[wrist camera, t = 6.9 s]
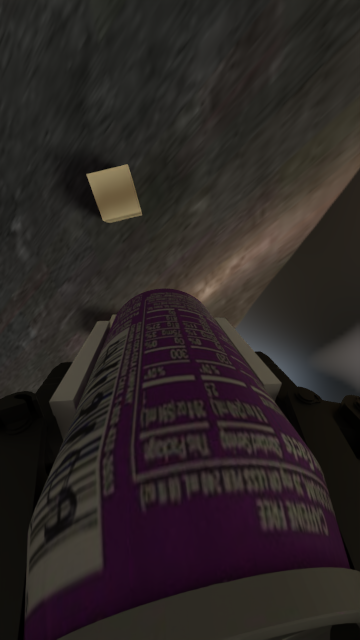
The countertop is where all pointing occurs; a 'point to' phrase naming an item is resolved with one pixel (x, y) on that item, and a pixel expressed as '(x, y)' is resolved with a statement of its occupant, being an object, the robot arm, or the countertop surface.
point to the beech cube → (115, 193)
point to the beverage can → (183, 499)
